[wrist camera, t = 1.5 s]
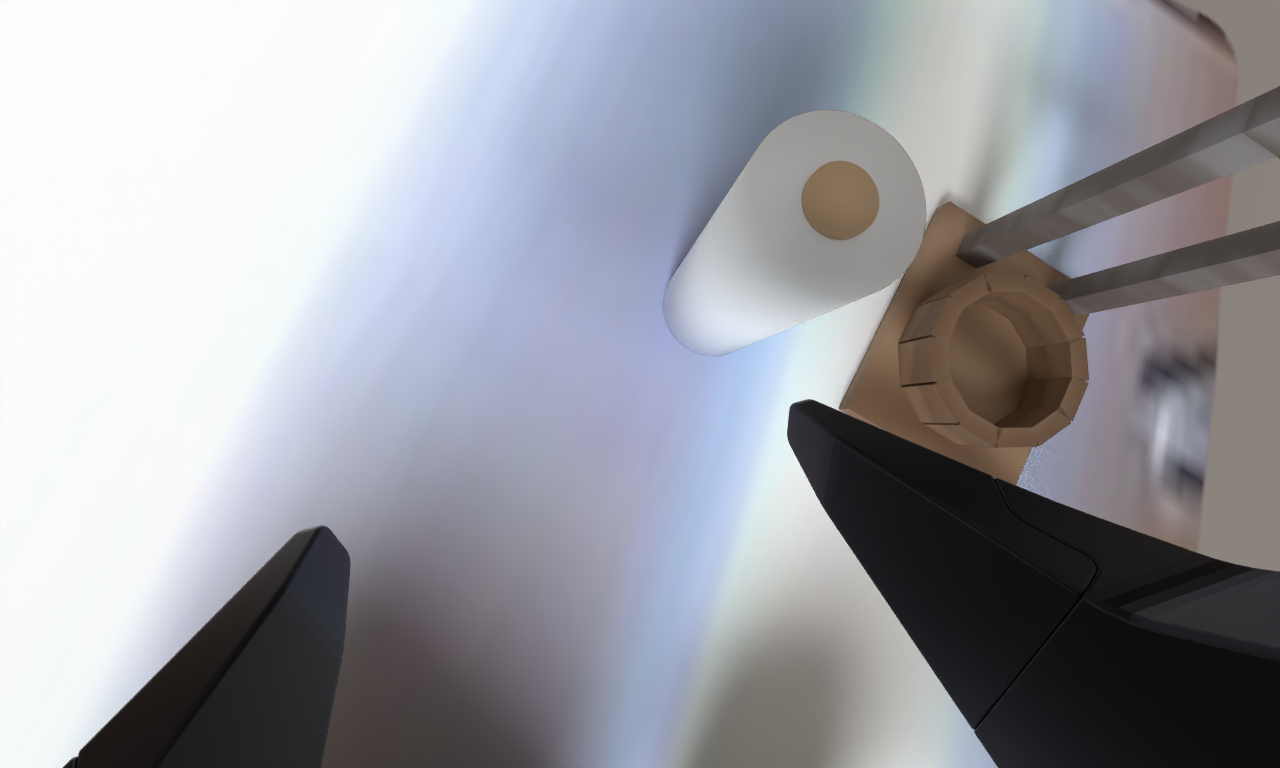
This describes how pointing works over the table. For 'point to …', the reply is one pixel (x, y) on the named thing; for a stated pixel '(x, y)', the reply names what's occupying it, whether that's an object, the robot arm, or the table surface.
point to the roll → (799, 233)
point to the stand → (1044, 299)
